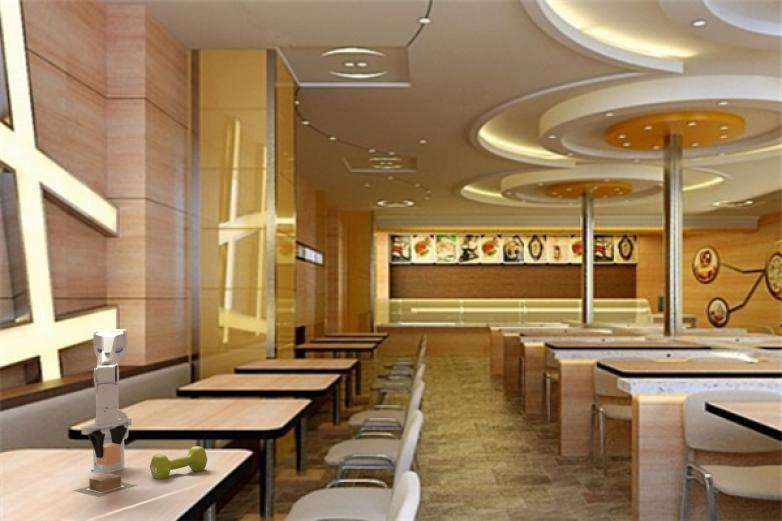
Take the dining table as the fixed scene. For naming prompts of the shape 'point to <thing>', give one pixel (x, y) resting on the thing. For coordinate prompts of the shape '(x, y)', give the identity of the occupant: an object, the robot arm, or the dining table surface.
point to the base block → (105, 482)
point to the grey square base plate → (98, 494)
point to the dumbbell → (178, 462)
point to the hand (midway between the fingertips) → (107, 455)
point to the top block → (110, 454)
